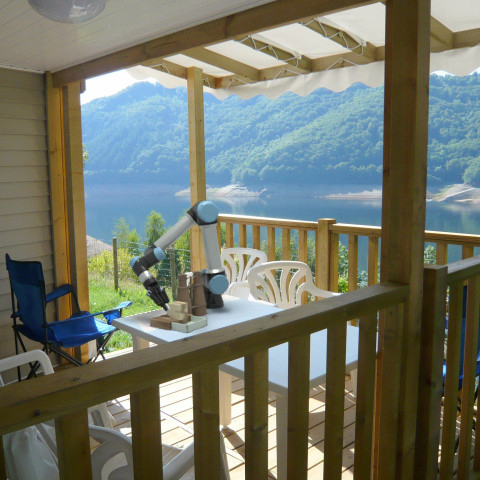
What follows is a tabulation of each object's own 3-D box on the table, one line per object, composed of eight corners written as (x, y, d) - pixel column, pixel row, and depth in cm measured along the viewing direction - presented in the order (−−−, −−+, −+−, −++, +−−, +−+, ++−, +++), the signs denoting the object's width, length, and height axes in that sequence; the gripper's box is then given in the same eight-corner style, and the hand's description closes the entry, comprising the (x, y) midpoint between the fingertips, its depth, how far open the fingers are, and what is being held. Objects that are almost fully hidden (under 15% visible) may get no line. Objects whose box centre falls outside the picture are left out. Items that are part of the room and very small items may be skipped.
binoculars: (183, 322, 274) (181, 276, 272) (171, 319, 281) (169, 275, 278) (210, 314, 289) (209, 271, 287) (199, 311, 296) (197, 269, 293)
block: (177, 315, 270) (177, 301, 270) (187, 317, 266) (187, 302, 266) (170, 318, 266) (169, 303, 265) (180, 320, 262) (179, 305, 261)
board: (173, 318, 281) (173, 311, 281) (192, 321, 273) (192, 314, 273) (150, 326, 266) (150, 318, 266) (169, 330, 258) (169, 322, 258)
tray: (191, 322, 272) (191, 315, 272) (207, 325, 266) (207, 318, 265) (171, 329, 259) (171, 322, 259) (187, 332, 253) (187, 325, 252)
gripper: (153, 282, 283) (176, 316, 275) (136, 287, 273) (159, 321, 265) (160, 274, 279) (183, 307, 272) (142, 278, 269) (166, 313, 261)
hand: (171, 314), depth 268 cm, fingers closed
